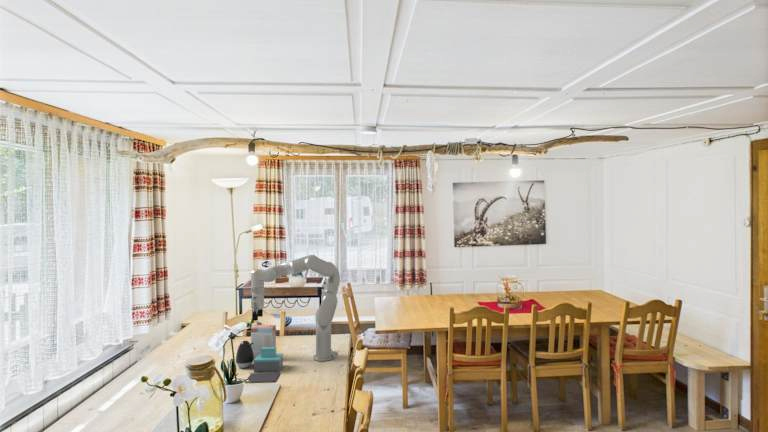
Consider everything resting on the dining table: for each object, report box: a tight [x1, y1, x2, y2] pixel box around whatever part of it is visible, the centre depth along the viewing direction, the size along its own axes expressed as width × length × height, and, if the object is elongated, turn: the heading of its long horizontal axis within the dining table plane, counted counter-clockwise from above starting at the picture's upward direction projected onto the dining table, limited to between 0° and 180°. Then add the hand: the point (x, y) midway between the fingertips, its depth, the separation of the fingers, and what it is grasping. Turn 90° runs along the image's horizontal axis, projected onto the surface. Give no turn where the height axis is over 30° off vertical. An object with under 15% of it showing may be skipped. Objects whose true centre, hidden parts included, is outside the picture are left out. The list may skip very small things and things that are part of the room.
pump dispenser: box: [235, 339, 254, 369], centre depth 224 cm, size 10×10×15 cm
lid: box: [253, 346, 284, 363], centre depth 220 cm, size 11×15×7 cm
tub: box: [253, 356, 284, 373], centre depth 220 cm, size 10×14×6 cm
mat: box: [245, 371, 281, 384], centre depth 207 cm, size 12×16×1 cm
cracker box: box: [250, 324, 277, 359], centre depth 235 cm, size 14×6×21 cm, turn 84°
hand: (257, 318), depth 229 cm, fingers open, 9 cm apart
